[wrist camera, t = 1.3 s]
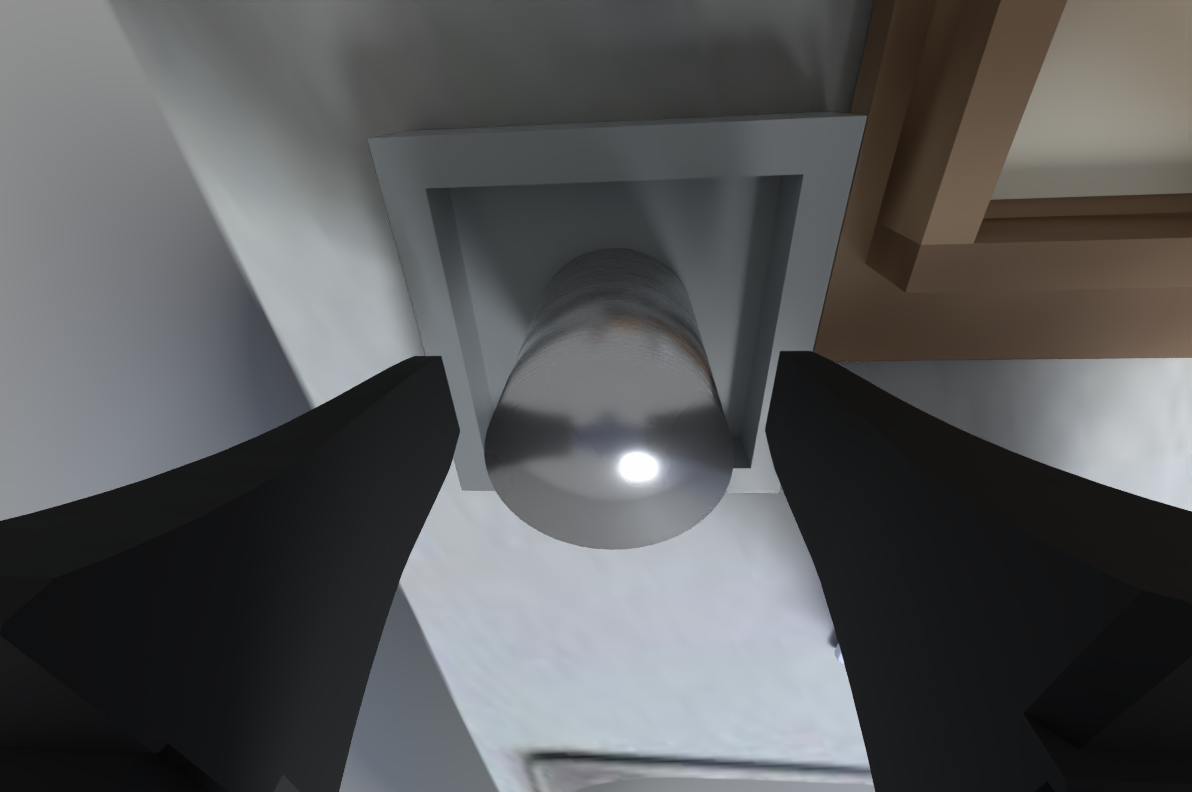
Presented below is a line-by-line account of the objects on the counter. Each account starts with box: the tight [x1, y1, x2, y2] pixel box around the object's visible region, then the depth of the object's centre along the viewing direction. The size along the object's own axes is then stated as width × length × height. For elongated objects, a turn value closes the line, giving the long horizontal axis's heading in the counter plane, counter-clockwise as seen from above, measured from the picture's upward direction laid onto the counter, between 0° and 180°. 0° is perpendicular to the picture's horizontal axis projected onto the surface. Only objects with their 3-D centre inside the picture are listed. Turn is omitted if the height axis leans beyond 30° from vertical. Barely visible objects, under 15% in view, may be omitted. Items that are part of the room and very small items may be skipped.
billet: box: [484, 248, 734, 549], centre depth 11 cm, size 4×4×6 cm
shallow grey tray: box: [367, 111, 867, 493], centre depth 13 cm, size 10×10×2 cm
